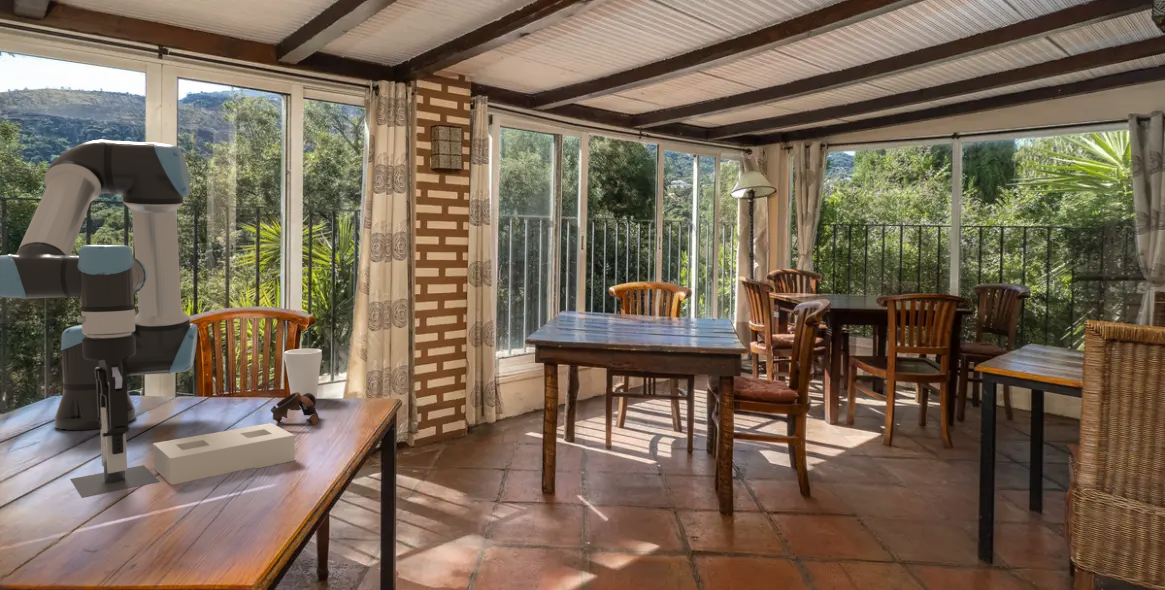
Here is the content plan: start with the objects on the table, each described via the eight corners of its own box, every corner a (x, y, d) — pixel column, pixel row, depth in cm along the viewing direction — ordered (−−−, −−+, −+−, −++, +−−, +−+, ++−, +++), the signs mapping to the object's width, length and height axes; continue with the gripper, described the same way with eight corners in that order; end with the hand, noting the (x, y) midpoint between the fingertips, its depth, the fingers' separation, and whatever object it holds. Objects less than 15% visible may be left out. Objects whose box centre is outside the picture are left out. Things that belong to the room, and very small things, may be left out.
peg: (102, 480, 117) (99, 406, 116) (123, 475, 119) (120, 403, 118) (106, 484, 115) (102, 409, 114) (127, 480, 117) (123, 407, 116)
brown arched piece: (312, 430, 153) (291, 401, 150) (279, 446, 154) (258, 417, 152) (334, 405, 164) (315, 378, 162) (303, 420, 166) (283, 393, 164)
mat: (70, 481, 117) (70, 478, 117) (143, 467, 125) (143, 464, 125) (82, 500, 109) (81, 497, 109) (160, 483, 117) (160, 481, 117)
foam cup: (299, 404, 175) (298, 355, 174) (277, 399, 180) (276, 351, 179) (330, 397, 183) (329, 350, 182) (308, 393, 188) (307, 347, 187)
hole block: (153, 469, 124) (153, 443, 123) (271, 446, 138) (271, 423, 138) (171, 486, 115) (170, 458, 115) (294, 460, 130) (294, 435, 130)
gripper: (73, 331, 119) (79, 460, 120) (91, 342, 106) (97, 485, 108) (124, 328, 124) (129, 452, 126) (146, 338, 112) (151, 475, 113)
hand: (114, 467), depth 117 cm, fingers open, 4 cm apart
